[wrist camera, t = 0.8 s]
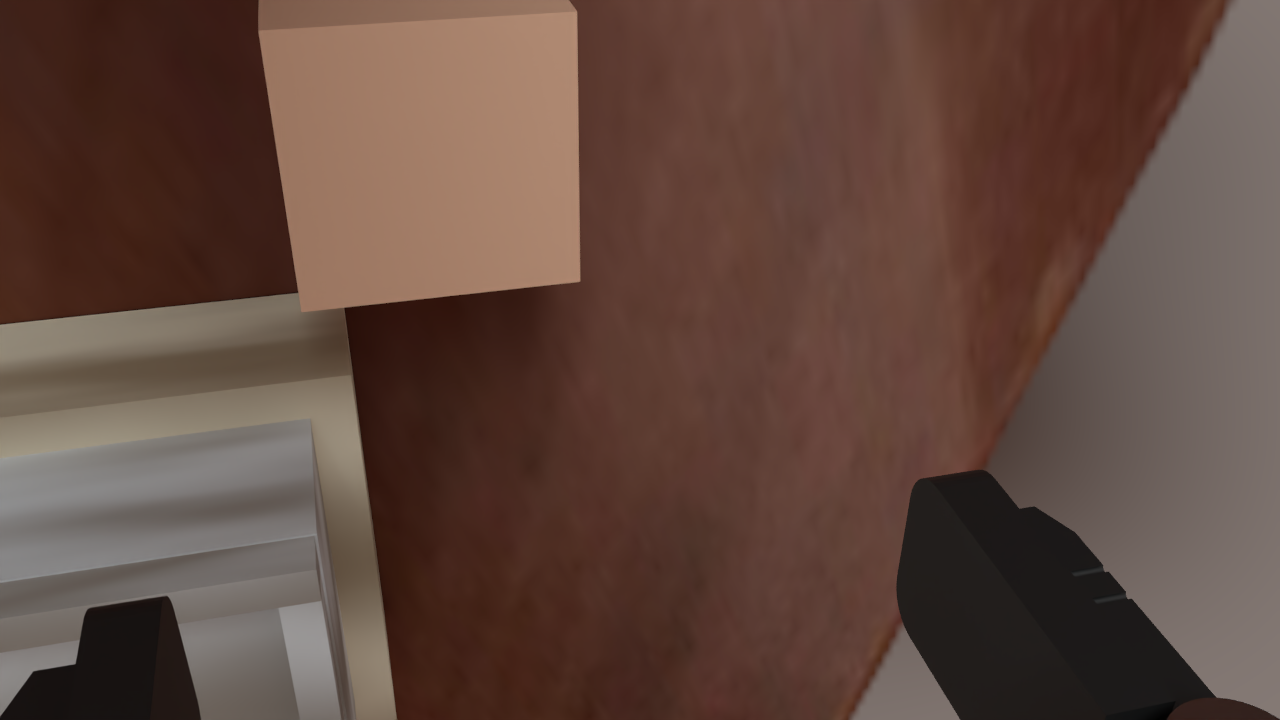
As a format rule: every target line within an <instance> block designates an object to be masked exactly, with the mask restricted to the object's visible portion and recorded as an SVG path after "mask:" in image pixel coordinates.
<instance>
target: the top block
mask: <svg viewBox="0 0 1280 720" xmlns="http://www.w3.org/2000/svg"><path fill="white" fill-rule="evenodd" d="M258 32H259V39H260V45H261V52H262V58H263V65H264V71H265V78H266V84H267V91H268V97H269V104H270V110H271V117H272V124H273V130H274V137H275V143H276V150H277V156H278V163H279V169H280V176H281V182H282V189H283V195H284V202H285V208H286V215H287V221H288V228H289V234H290V241H291V247H292V254H293V260H294V267H295V273H296V280H297V286H298V293H299V300H300V306H301V312H309V311H318V310H328V309H337V308H346V307H355V306H364V305H373V304H382V303H391V302H400V301H409V300H418V299H428V298H437V297H446V296H455V295H464V294H473V293H482V292H491V291H500V290H509V289H519V288H528V287H537V286H546V285H555V284H564V283H573V282H580V218H579V131H578V45H577V11H576V9H575V8H574V7H573V5H572V4H571V2H570V1H569V0H259V9H258Z"/></svg>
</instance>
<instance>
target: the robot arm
mask: <svg viewBox="0 0 1280 720" xmlns="http://www.w3.org/2000/svg"><path fill="white" fill-rule="evenodd" d="M897 600H898V606H899V611H900V614H901V618H902V621H903V624H904V626H905V628H906V631H907V633H908V635H909V636H910V638H911V640H912V641H913V643H914V644H915V646H916V648H917V650H918V651H919V653H920V654H921V656H922V658H923V659H924V661H925V663H926V664H927V666H928V668H929V669H930V671H931V672H932V674H933V675H934V677H935V679H936V681H937V682H938V684H939V685H940V687H941V689H942V690H943V692H944V694H945V695H946V697H947V698H948V700H949V701H950V703H951V705H952V706H953V708H954V710H955V711H956V713H957V715H958V716H959V718H960V720H1280V719H1279V718H1277V717H1275V716H1274V715H1272V714H1270V713H1268V712H1266V711H1264V710H1262V709H1260V708H1258V707H1255V706H1253V705H1250V704H1247V703H1244V702H1240V701H1236V700H1231V699H1223V698H1217V697H1216V696H1215V695H1214V694H1213V693H1212V692H1211V691H1210V690H1209V689H1208V687H1207V686H1206V685H1205V684H1204V683H1203V682H1202V681H1201V679H1200V678H1199V677H1198V676H1197V675H1196V673H1195V672H1194V671H1193V670H1192V669H1191V667H1190V666H1189V665H1188V664H1187V663H1186V662H1185V660H1184V659H1183V658H1182V657H1181V656H1180V655H1179V653H1178V652H1177V651H1176V650H1175V649H1174V648H1173V646H1171V644H1170V643H1169V642H1168V641H1167V639H1166V638H1165V637H1164V636H1163V635H1162V634H1161V632H1160V631H1159V630H1158V629H1157V628H1156V627H1155V626H1154V624H1152V622H1151V621H1150V620H1149V618H1148V617H1147V616H1146V615H1145V614H1144V612H1143V611H1142V610H1141V609H1140V608H1139V607H1138V606H1137V604H1136V603H1135V602H1134V601H1133V600H1132V599H1127V597H1126V591H1125V590H1124V589H1123V588H1122V587H1121V586H1120V584H1119V583H1118V582H1117V581H1116V580H1115V579H1114V578H1113V576H1112V575H1111V574H1110V573H1109V572H1104V570H1103V565H1102V563H1101V562H1100V561H1099V560H1098V559H1097V557H1096V556H1095V555H1094V554H1093V553H1092V552H1091V550H1090V549H1089V548H1088V547H1087V546H1086V545H1085V544H1084V543H1083V541H1082V540H1081V539H1080V538H1079V536H1078V535H1077V534H1076V533H1075V532H1074V531H1072V530H1070V529H1069V528H1067V527H1065V526H1064V525H1063V524H1061V523H1059V522H1058V521H1056V520H1055V519H1053V518H1052V517H1050V516H1048V515H1047V514H1045V513H1044V512H1042V511H1041V510H1039V509H1037V508H1036V507H1028V508H1022V509H1019V508H1018V507H1017V505H1016V504H1015V503H1014V502H1013V501H1012V499H1011V498H1010V497H1009V496H1008V494H1007V493H1006V492H1005V491H1004V489H1003V488H1002V487H1001V486H1000V485H999V483H998V482H997V481H996V480H995V479H994V477H993V476H992V475H991V474H989V473H988V472H987V471H984V470H974V471H967V472H961V473H955V474H948V475H942V476H936V477H929V478H923V479H920V480H918V481H917V482H916V483H915V485H914V487H913V489H912V492H911V497H910V503H909V509H908V515H907V521H906V527H905V533H904V539H903V545H902V551H901V557H900V563H899V569H898V575H897ZM0 720H201V716H200V710H199V704H198V700H197V696H196V692H195V688H194V684H193V680H192V677H191V673H190V669H189V665H188V661H187V657H186V654H185V650H184V646H183V642H182V638H181V634H180V630H179V627H178V623H177V619H176V615H175V611H174V608H173V605H172V602H171V600H170V598H169V597H168V596H161V597H155V598H148V599H142V600H135V601H129V602H123V603H116V604H110V605H104V606H97V607H91V608H89V609H87V611H86V613H85V616H84V620H83V625H82V630H81V636H80V642H79V647H78V653H77V659H76V664H73V665H67V666H61V667H55V668H49V669H43V670H37V671H33V672H32V674H31V675H30V676H29V678H28V679H27V681H26V682H25V683H24V685H23V686H22V687H21V689H20V690H19V691H18V693H17V694H16V696H15V697H14V698H13V700H12V701H11V702H10V704H9V705H8V706H7V708H6V709H5V711H4V712H3V713H2V715H1V716H0Z"/></svg>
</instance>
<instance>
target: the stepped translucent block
mask: <svg viewBox="0 0 1280 720" xmlns="http://www.w3.org/2000/svg"><path fill="white" fill-rule="evenodd" d="M161 596H168V597H169V598H170V600H171V602H172V605H173V608H174V611H175V615H176V619H177V623H178V627H179V630H180V634H181V638H182V642H183V646H184V650H185V654H186V657H187V661H188V665H189V669H190V673H191V677H192V680H193V684H194V688H195V692H196V696H197V700H198V704H199V710H200V716H201V720H397V716H396V708H395V699H394V691H393V682H392V674H391V665H390V657H389V648H388V640H387V631H386V623H385V614H384V607H383V599H382V591H381V584H380V576H379V569H378V561H377V553H376V546H375V538H374V531H373V523H372V515H371V508H370V500H369V493H368V485H367V477H366V470H365V462H364V455H363V447H362V439H361V432H360V424H359V416H358V409H357V401H356V394H355V386H354V378H353V371H352V363H351V356H350V348H349V340H348V333H347V325H346V318H345V310H344V308H337V309H328V310H318V311H309V312H301V306H300V300H299V293H293V294H284V295H274V296H265V297H256V298H246V299H237V300H228V301H218V302H209V303H199V304H190V305H181V306H171V307H162V308H153V309H143V310H134V311H124V312H115V313H106V314H96V315H87V316H78V317H68V318H59V319H49V320H40V321H31V322H21V323H12V324H3V325H0V716H1V715H2V713H3V712H4V711H5V709H6V708H7V706H8V705H9V704H10V702H11V701H12V700H13V698H14V697H15V696H16V694H17V693H18V691H19V690H20V689H21V687H22V686H23V685H24V683H25V682H26V681H27V679H28V678H29V676H30V675H31V674H32V672H33V671H37V670H43V669H49V668H55V667H61V666H67V665H73V664H76V659H77V653H78V647H79V642H80V636H81V630H82V625H83V620H84V616H85V613H86V611H87V609H89V608H91V607H97V606H104V605H110V604H116V603H123V602H129V601H135V600H142V599H148V598H155V597H161Z"/></svg>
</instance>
